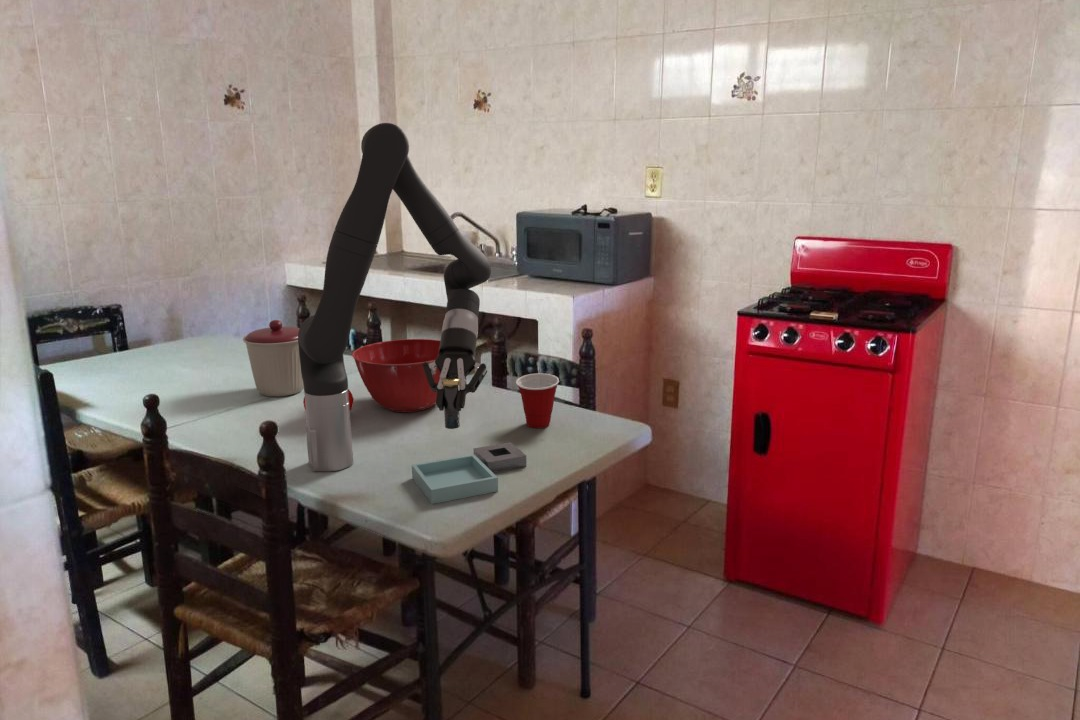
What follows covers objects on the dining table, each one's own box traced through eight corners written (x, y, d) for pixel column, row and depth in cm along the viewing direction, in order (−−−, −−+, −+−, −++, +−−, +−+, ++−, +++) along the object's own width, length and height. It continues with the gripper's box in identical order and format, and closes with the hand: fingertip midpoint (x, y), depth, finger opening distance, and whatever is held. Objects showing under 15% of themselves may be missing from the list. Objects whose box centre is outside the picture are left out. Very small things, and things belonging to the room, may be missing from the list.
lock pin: (446, 430, 158) (444, 382, 155) (441, 424, 161) (439, 378, 158) (463, 427, 159) (462, 380, 157) (457, 422, 163) (456, 375, 160)
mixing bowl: (334, 405, 214) (330, 350, 210) (417, 383, 234) (415, 332, 230) (398, 429, 196) (395, 370, 192) (482, 403, 216) (481, 348, 212)
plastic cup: (508, 427, 197) (507, 381, 194) (529, 415, 206) (529, 371, 203) (546, 434, 192) (546, 387, 189) (566, 421, 201) (566, 376, 198)
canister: (313, 380, 238) (307, 312, 232) (315, 397, 221) (309, 324, 216) (249, 385, 232) (242, 316, 227) (247, 404, 216) (239, 329, 210)
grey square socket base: (488, 473, 169) (487, 462, 169) (473, 458, 177) (473, 448, 176) (526, 466, 173) (526, 455, 172) (510, 452, 181) (510, 442, 180)
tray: (431, 503, 155) (431, 489, 154) (412, 477, 167) (411, 464, 166) (498, 491, 160) (497, 477, 159) (474, 466, 173) (474, 454, 172)
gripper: (422, 325, 163) (411, 399, 155) (490, 326, 162) (481, 401, 153) (429, 344, 170) (418, 416, 161) (494, 345, 168) (486, 418, 160)
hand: (449, 408), depth 157 cm, fingers closed on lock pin, 3 cm apart
